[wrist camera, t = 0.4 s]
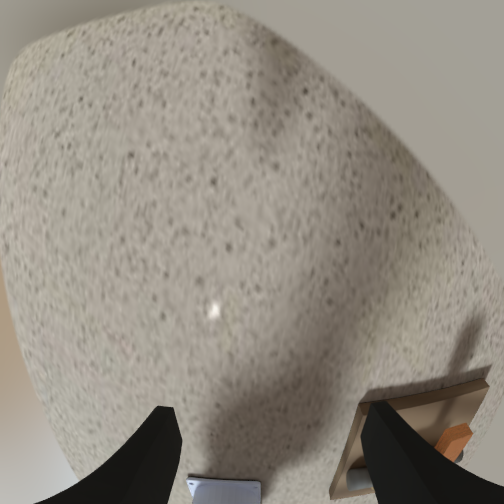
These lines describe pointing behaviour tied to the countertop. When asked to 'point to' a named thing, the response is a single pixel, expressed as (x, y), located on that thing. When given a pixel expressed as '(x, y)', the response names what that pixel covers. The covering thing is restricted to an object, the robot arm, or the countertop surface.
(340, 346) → the countertop surface
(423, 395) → the valve base
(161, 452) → the robot arm
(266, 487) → the countertop surface
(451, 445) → the valve lever
